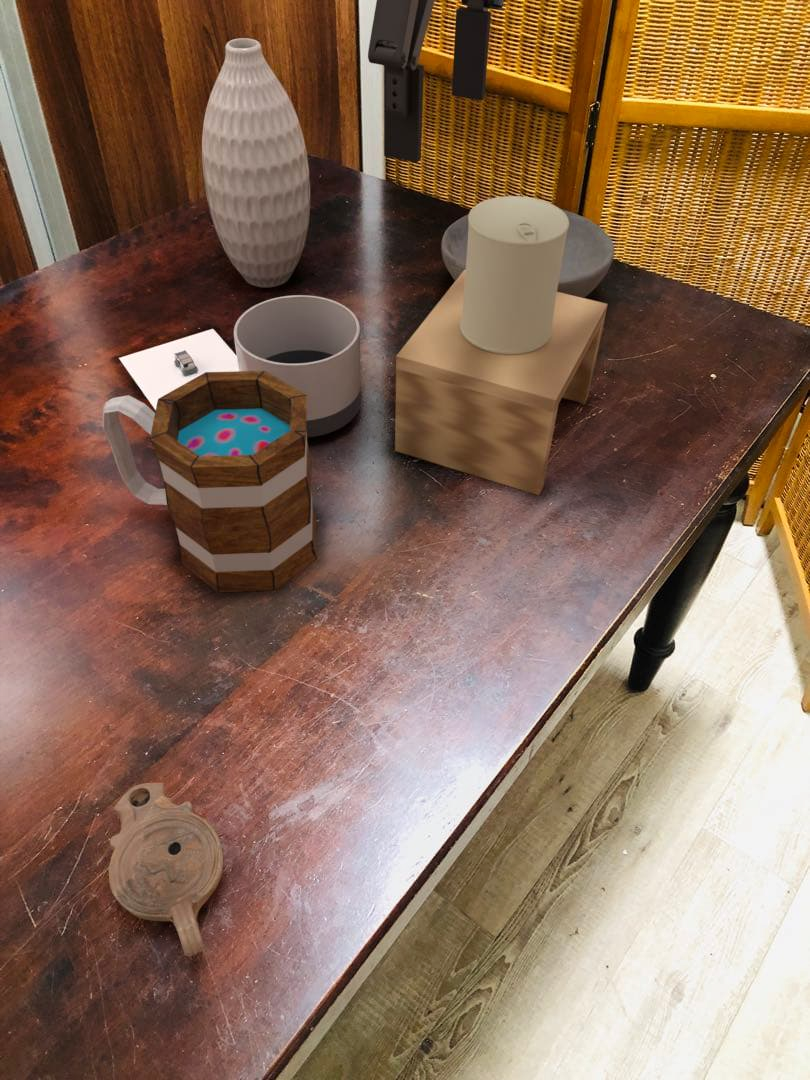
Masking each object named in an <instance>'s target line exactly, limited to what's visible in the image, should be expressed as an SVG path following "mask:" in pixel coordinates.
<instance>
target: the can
mask: <svg viewBox="0 0 810 1080" xmlns="http://www.w3.org/2000/svg"><path fill="white" fill-rule="evenodd" d="M561 209H562V208H560V207H558V206H556V205H555V204H552V203H550V202H548V201H545V200H542V199H538V198H533V197H529V196H521V195H520V196H519V195H508V196H507V195H504V196H497V197H492V198H488V199H485V200H483V201H480V202H478V203H477V204H476V205H474V206H473V207H472V208H471V210H470V211H469V212H468V214H469V216H468V221H469V228H468V246H467V260H466V273H465V287H464V299H463V310H462V317H461V320H460V330H461V333H462V334H463V336H464V337H465V338H466V340H468V341H469V342H470V343H471V344H473V345H475V346H476V347H478V348H480V349H483V350H486V351H489V352H493V353H498V354H508V355H514V354H523V353H528V352H532V351H535V350H537V349H539V348H541V347H542V346H544V345H545V344H546V343H547V342H548V341H549V339H550V338H551V335H552V321H553V314H554V307H555V300H556V294H557V288H558V282H559V275H560V269H561V263H562V258H563V252H564V246H565V241H566V236H567V231H568V228H569V220H568V217H567V216H566V214H565V213H564V212H563V211H562V210H563V209H562V210H561Z"/></svg>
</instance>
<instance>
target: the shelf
mask: <svg viewBox="0 0 810 1080" xmlns="http://www.w3.org/2000/svg"><path fill="white" fill-rule="evenodd" d="M465 273H466V270H464V271H463V272H462V273H461V275H460V276H459V277H458V278H457V280H456V281H455V280H454V282H453V283H452V285H451V286H450V287H449V289H448V290H447V291H446V292H445V294H444V295H443V296H442V297H441V299H440V300H439V301H438V302H437V304H436V305H435V306H434V307H433V309H432V310H431V311H430V312H429V314H428V315H427V316H426V318H424V320H423V321H422V323H421V324H420V325H419V326H418V328H417V329H416V330H415V331H414V333H413V334H412V335H411V336H410V338H409V339H407V342H406V343H405V344H404V345H403V346H402V348H401V349H400V351H399V352H398V353H397V354H396V356H395V419H394V420H395V421H394V423H395V428H394V451H395V452H396V453H401V454H404V455H407V456H410V457H413V458H417V459H419V460H423V461H426V462H430V463H432V464H436V465H439V466H442V467H446V468H449V469H452V470H455V471H458V472H461V473H465V474H468V475H471V476H475V477H477V478H481V479H485V480H488V481H490V482H495V483H498V484H501V485H504V486H508V487H510V488H513V489H517V490H520V491H524V492H527V493H530V494H533V495H537V496H540V494H541V492H542V491H543V488H544V485H545V481H546V475H547V474H546V473H547V470H548V463H549V458H550V453H551V447H552V441H553V436H554V431H555V425H556V420H557V416H558V415H557V413H558V408H559V404H560V402H561V400H562V399H565V400H568V401H573V402H577V403H580V404H584V405H585V404H586V402H587V401H588V398H589V394H590V390H591V385H592V381H593V376H594V371H595V368H596V367H595V366H596V362H597V357H598V353H599V347H600V343H601V339H602V333H603V329H604V324H605V319H606V315H607V309H608V305H609V304H608V303H605V302H602V301H597V300H593V299H589V298H586V297H585V298H581V297H577V296H573V295H568V294H564V293H560V292H557V294H556V300H555V307H554V314H553V321H552V335H551V338H550V339H549V341H548V342H547V343H546V344H545V345H544V346H542V347H541V348H539V349H537V350H535V351H532V352H528V353H523V354H514V355H508V354H498V353H493V352H489V351H486V350H483V349H480V348H478V347H476V346H475V345H473V344H471V343H470V342H469V341H468V340H466V338H465V337H464V336H463V334H462V333H461V330H460V320H461V317H462V310H463V299H464V287H465Z"/></svg>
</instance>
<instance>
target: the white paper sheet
mask: <svg viewBox="0 0 810 1080" xmlns="http://www.w3.org/2000/svg"><path fill="white" fill-rule="evenodd" d="M118 359H119V360H120V362H121V364H122V365H123V367H124V368H125V369H126V371H127V372H128V374H129V375H130V376H131V378H132V379H133V381H134V382H135V384H136V385H137V386H138V387H139V389H140V390H141V392H142V394H143V395H144V397H146V399H147V400H148V402H149V403H150V405H151V406H152V407H153V409H154V410H155V411H156V406H157V401H158V399H159V398H161V397H162V396H164V395H166V394H168V393H170V392H171V391H173V390H175V389H177V388H178V387H180V386H182V385H184V384H186V383H187V382H189V381H191V380H193V379H195V378H196V377H198V376H200V375H202V374H203V373H205V372H235V371H239V368H238V361H237V354H235V352H234V351H233V350H232V348H230V346H229V345H228V344H227V343H226V342H225V340H223V338H222V337H221V336H220V335H219V333H217V331H216V330H215V329H214V328H211V329H207V330H204V331H201V332H198V333H195V334H191V335H188V336H185V337H181V338H179V339H175V340H173V341H169V342H166V343H162V344H160V345H159V344H158V345H156V346H153V347H150V348H146V349H144V350H140V351H137V352H133V353H131V354H128V355H124V356H121V357H118Z"/></svg>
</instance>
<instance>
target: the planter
mask: <svg viewBox="0 0 810 1080" xmlns="http://www.w3.org/2000/svg"><path fill="white" fill-rule="evenodd" d="M233 327H234V328H233V339H234V345H235V346H234V347H235V353H236V354H235V355H236V356H237V361H238V368H239V371H267V372H268V373H270V374H272V375H273V376H275V377H277V378H278V379H280V380H282V381H284V382H285V383H287V384H289V385H290V386H292V387H294V388H295V389H297V390H299V391H300V392H302V393H304V394H306V395H307V407H306V434H307V439H308V438H314V437H315V438H316V437H320V436H324V435H328V434H330V433H333V432H335V431H338V430H339V429H341V428H343V427H344V426H346V425H347V424H348V423H350V422H351V421H352V420H354V418H355V417H356V415H357V414H358V412H359V411H360V408H361V405H362V365H361V364H362V363H361V361H362V360H361V359H362V357H361V327H360V322H359V319H358V317H357V316H356V314H355V313H354V312H353V311H352V310H351V309H350V308H349V307H347V306H345V305H344V304H342V303H340V302H338V301H335V300H333V299H330V298H327V297H323V296H317V295H306V294H294V295H292V294H291V295H284V296H279V297H274V298H270V299H267V300H264V301H262V302H259V303H257V304H255V305H252V306H251V307H250V308H248V309H247V310H245V311H244V312H243V313H242V314H241V315H240V316H239V317H238V319H236V322H235V324H234V326H233Z"/></svg>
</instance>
